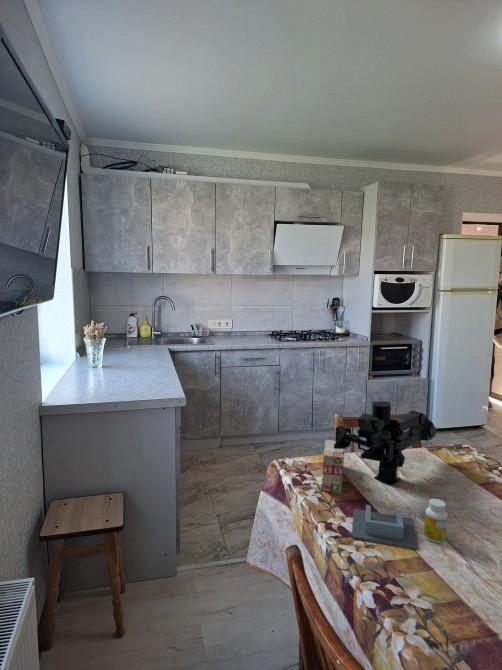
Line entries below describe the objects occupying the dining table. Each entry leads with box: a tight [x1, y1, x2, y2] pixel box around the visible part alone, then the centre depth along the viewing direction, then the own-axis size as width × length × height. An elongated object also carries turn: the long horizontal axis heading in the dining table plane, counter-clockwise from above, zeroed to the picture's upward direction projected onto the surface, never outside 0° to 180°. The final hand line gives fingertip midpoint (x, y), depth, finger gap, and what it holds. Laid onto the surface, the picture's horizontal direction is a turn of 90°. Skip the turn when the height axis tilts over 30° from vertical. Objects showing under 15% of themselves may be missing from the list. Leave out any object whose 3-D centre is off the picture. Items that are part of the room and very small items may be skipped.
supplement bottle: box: [423, 498, 449, 544], centre depth 114 cm, size 5×5×10 cm
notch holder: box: [351, 504, 418, 551], centre depth 117 cm, size 14×16×4 cm
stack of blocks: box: [321, 439, 345, 495], centre depth 147 cm, size 21×6×12 cm, turn 168°
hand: (347, 451), depth 127 cm, fingers open, 9 cm apart
